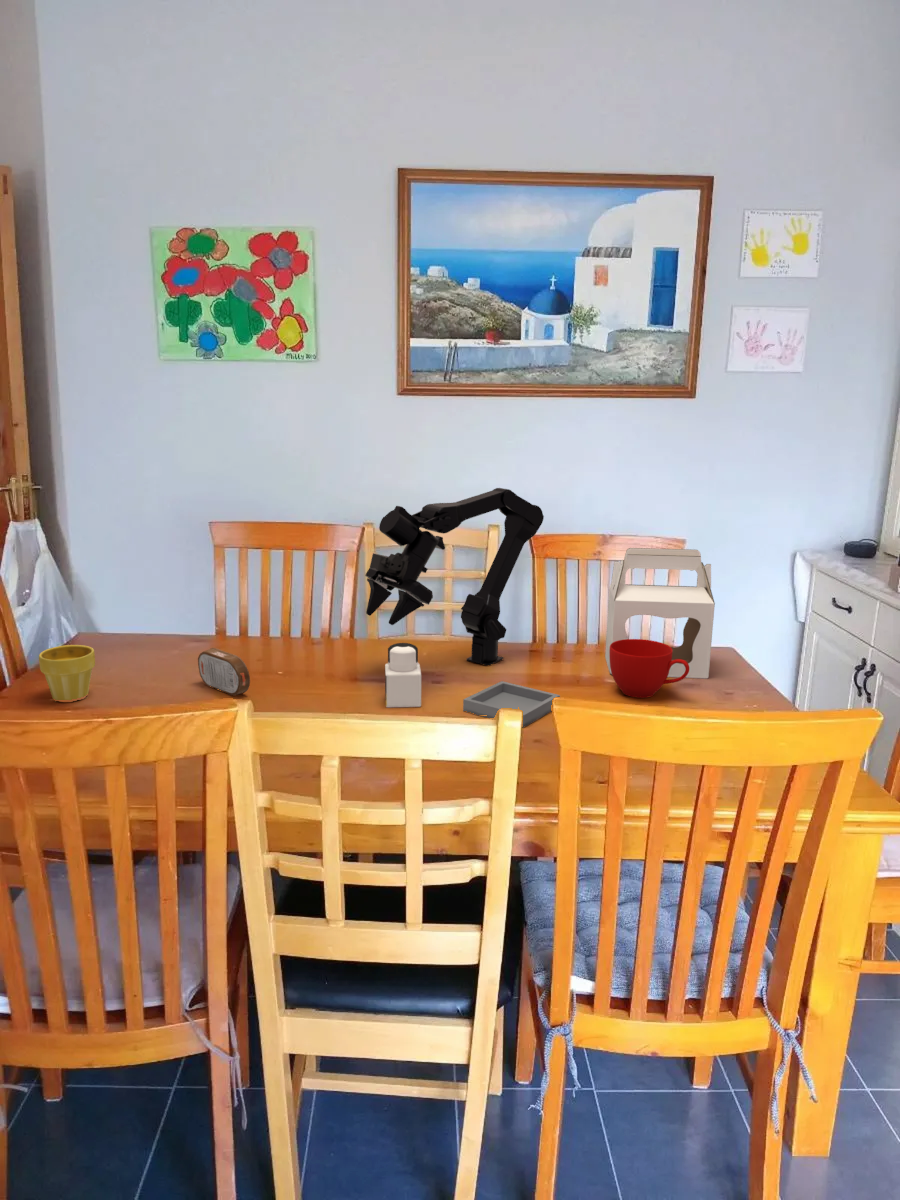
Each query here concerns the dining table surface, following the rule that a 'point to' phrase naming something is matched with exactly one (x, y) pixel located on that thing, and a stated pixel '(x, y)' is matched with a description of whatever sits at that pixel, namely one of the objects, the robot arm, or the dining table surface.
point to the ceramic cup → (642, 666)
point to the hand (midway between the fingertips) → (378, 619)
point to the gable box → (665, 605)
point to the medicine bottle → (403, 676)
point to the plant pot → (68, 670)
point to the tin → (224, 671)
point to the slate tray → (510, 701)
